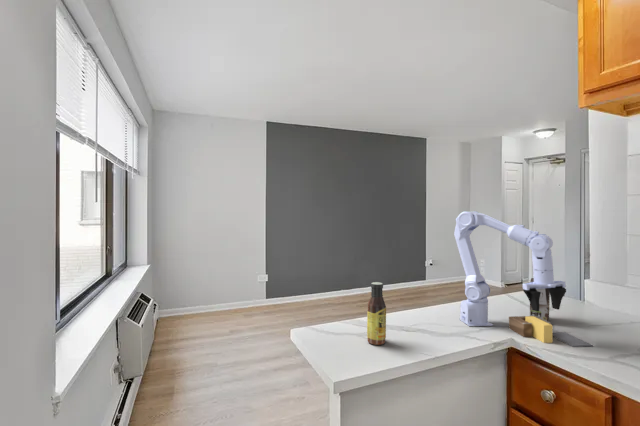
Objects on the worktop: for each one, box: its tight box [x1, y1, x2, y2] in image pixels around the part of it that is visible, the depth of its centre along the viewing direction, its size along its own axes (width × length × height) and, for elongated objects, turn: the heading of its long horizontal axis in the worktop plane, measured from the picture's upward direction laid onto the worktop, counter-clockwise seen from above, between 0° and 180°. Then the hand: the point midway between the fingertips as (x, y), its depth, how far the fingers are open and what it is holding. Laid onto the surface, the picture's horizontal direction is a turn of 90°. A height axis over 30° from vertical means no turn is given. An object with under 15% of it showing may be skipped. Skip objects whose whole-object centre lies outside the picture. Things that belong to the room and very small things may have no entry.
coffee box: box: [529, 277, 551, 322], centre depth 129 cm, size 9×6×16 cm
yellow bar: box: [525, 315, 554, 344], centre depth 112 cm, size 3×9×6 cm, turn 3°
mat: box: [552, 331, 594, 348], centre depth 110 cm, size 7×11×1 cm, turn 3°
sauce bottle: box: [366, 281, 387, 346], centre depth 108 cm, size 6×6×20 cm
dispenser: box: [508, 315, 552, 338], centre depth 116 cm, size 10×8×5 cm
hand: (545, 309), depth 109 cm, fingers open, 7 cm apart
